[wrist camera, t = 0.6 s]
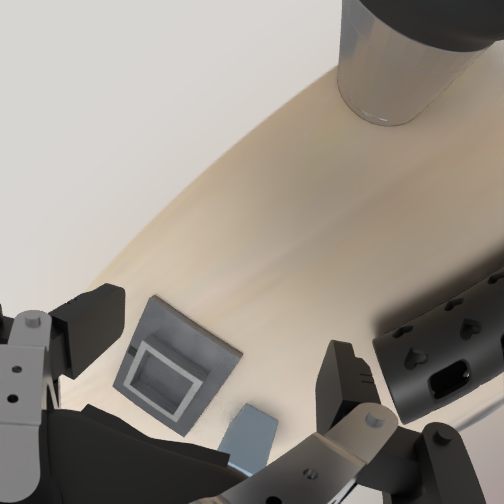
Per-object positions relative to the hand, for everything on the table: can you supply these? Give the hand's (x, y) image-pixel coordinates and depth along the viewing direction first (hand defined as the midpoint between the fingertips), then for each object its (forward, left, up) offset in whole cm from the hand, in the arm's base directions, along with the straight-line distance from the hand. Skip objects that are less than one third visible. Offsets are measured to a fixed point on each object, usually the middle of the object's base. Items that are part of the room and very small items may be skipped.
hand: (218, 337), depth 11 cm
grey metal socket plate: (+20, -4, -21) cm, 29 cm away
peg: (+20, +8, -21) cm, 30 cm away
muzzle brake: (-8, +22, -21) cm, 31 cm away
